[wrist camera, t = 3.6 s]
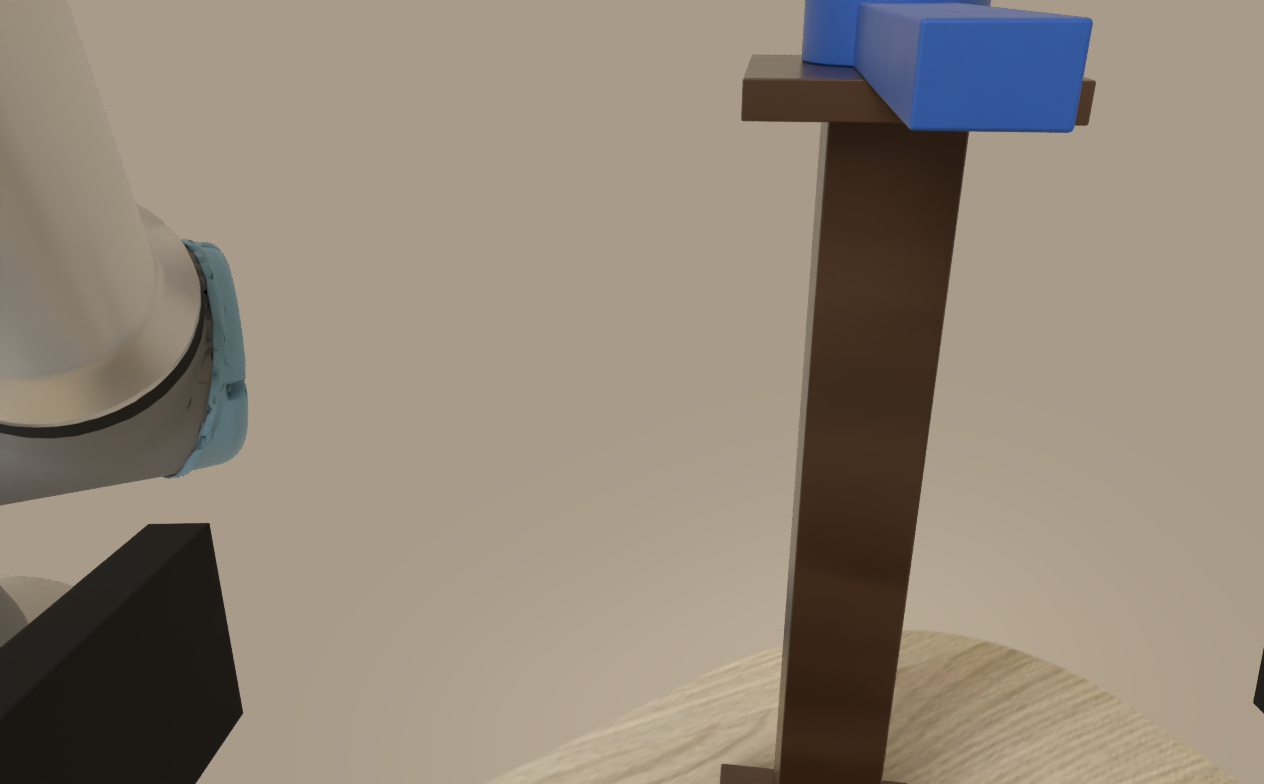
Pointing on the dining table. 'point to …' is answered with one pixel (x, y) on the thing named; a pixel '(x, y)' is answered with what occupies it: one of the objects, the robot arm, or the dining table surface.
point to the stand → (858, 409)
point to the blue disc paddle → (957, 60)
